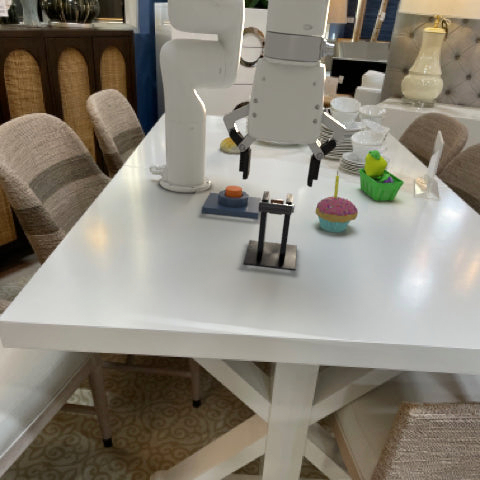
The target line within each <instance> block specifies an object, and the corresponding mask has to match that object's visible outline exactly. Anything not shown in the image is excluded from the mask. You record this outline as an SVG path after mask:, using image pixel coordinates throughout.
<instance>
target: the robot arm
mask: <svg viewBox="0 0 480 480" xmlns="http://www.w3.org/2000/svg"><path fill="white" fill-rule="evenodd" d="M267 1H268V3H267V14H266V24H265V25H266V26H265V27H266V28H265V35H264V36H265V37H264V47H263V57H259V58H258V59H257V63H256V66H255V71H254V76H253V82H252V87H251V91H250V92H251V94H250V100H249V103H247V104H245V105H243V106H241V107H239V108H236V109H234V110H232V111H230V112H228V113H226V114H224V116H223V117H222V121H223V123H224V126H225V128H226V130H227V133H228V137H230V138H231V139H232V140H233V142H234V143H235V144H236V145H237V147H238V149H239V150H240V154H239V165H238V172H240V173H242V180H248V179H249V175H250V172H251V161H252V160H251V158H252V148H251V145H252V144H253V143H254V142H255V141H256V140H259V141H265V142H275V143H284V144H293V145H294V144H295V145H305V146H306V145H307V146H308V148H309V150H310V151H311V153H312V155H310V160H309V167H308V173H307V179H306V186H307V187H308V188H312V187H313V183H314V181H318V179H319V174H320V168H321V161H322V160H323V159H324V157H326V156H327V155H328V154H330V152H332V151H333V150H335V148H336V147H337V145H338V144H339V143H340V141H341V140H342V139H343V137H344V136H345V135H346V134H347V129H346V127H345V125H343V124H342V123H341V122H339V121H338V120H336V119H335V118H334V117H332V116H331V115H330V114H328V113H327V112H325V110H324V103H325V94H326V93H325V92H326V80H327V78H326V77H327V75H326V64H324V63H321V61H322V58H325V57H327V56H333V55H334V51H335V43H331V42H330V41H327V40H326V39H325V35H326V29H327V22H328V14H329V9H330V8H329V7H330V3H331V0H267ZM245 9H246V8H245V0H167V15H168V21H169V23H170V26H172V28H173V29H175V30H176V31H179V32H182V33H188V34H203V35H217V40H211V39H210V40H209V39H208V40H207V39H198V38H174V39H170V40H168V41H165V43H164V44H162V46H161V48H160V51H159V68H160V73H161V81H162V87H163V97H164V129H165V130H164V132H165V133H164V135H165V164H162V165H158V164H149V170H148V171H149V173H151V175H152V176H161V177H160V178H159V184H160V186H161V187H162V188H163V189H165V190H168V191H171V192H176V193H187V194H188V193H196V192H197V191H198V190H204V191H206V190H209V189H210V188H211V183H212V182H211V180H210V179H209V178H208V177H206V175H205V174H206V144H207V143H206V142H207V141H206V140H207V137H206V136H207V109H206V106H205V104H204V102H203V100H202V99H201V98H200V96H199V95H198V94H197V91H196V90H203V89H206V90H207V89H211V90H212V89H213V90H214V89H215V90H220V89H221V90H223V89H224V90H225V89H229V88H232V87H233V86H234V85H235V83H236V81H237V79H238V75H239V68H240V61H241V53H242V44H243V36H244V35H243V34H244V25H245V15H246V14H245V11H246V10H245ZM246 117H247V134H246V135H243V134H242V132H241V131H240V130H239V129H238V127H237V124H236V122H237V121H239V120H241V119H244V118H246ZM322 125H324V126H325V127H326V128H327V129H329V130H331V131H332V134H331V136H330V137H329V138H328V139H327V140H326V141H325V142H323V143H321V142H320V141H319V140H318V139H319V137H320V133H321V127H322Z"/></svg>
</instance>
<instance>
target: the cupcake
mask: <svg viewBox="0 0 480 480" xmlns="http://www.w3.org/2000/svg"><path fill="white" fill-rule="evenodd" d="M339 182H340V175H339V171H336V175H335V181H334V191H333V192H334V193H333V196H327V197H325V198H323V199H322V198H321V200H319V201H318V202H317V204H316V207H315V215H317V218H318V221H319V227H320V228H321V230H323V231H326V232H331V233H342V232H344V231H345V230H346V228H347V227H348V225H349V224H350V222H351V221H354V220H356V219H357V218H358V214H359V211H358V207H357V206H356V205H355V204H354V203H353V202H352V201H351V200H349V199H348V198H344V197H340V196H339V195H338V193H339Z"/></svg>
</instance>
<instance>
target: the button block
mask: <svg viewBox="0 0 480 480" xmlns="http://www.w3.org/2000/svg"><path fill="white" fill-rule="evenodd" d="M225 192H226V189H224V190H221V191H219V192H209V194H208V196H207V197H206V200H205V201H204V203H203V205H202V207H201V214H208V215H214V216H215V215H216V216H224V217H234V218H243V219H252V220H258V219H259V216H260V212H259V211H258V208H259V202H260V201H262V198H263V197H256V196H250V194H249V193H247V192H246V191H244V190H242V197H238V198H233V197H228V196H225Z"/></svg>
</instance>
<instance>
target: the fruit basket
mask: <svg viewBox="0 0 480 480" xmlns="http://www.w3.org/2000/svg"><path fill="white" fill-rule="evenodd" d="M387 167H388V161H387V160H386V159H385V157H383V156H382V155H381V153H380V151H379V150H376V149H374V150H369V151H368V153H367V154H366V156H365V158H364V168H358V172H359V182H360V183H359V185H360V190H361V191H362V192H364V194H366V195H367V196H369V197H370V198H371V199H372V200H373V201H375V202H378V201H379V202H384V201H385V202H388V201H394V200H395V198H396V197H397V194H398V192H400V189H401V187H403V185H404V183H405V182H404V180H402V179H401V178H398V177H397V176H395V175H394V174H393V173H391V172H390V171H388V170H386V169H387Z"/></svg>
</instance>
